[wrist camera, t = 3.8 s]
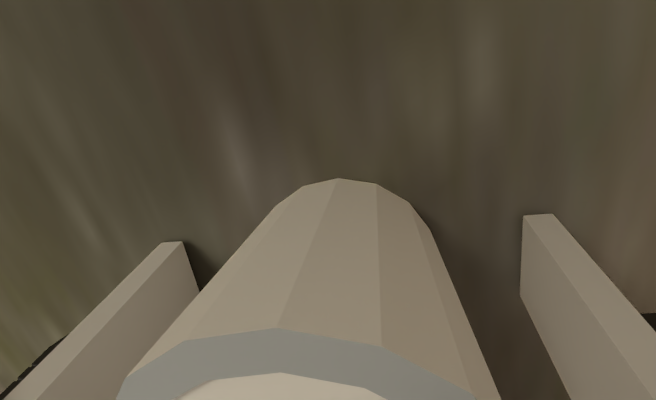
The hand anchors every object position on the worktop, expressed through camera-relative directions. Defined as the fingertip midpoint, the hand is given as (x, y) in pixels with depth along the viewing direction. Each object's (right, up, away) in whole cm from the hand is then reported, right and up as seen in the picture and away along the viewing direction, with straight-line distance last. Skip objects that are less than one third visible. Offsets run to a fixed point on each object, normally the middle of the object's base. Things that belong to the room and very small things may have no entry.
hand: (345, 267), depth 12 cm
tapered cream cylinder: (0, 0, 0) cm, 0 cm away
